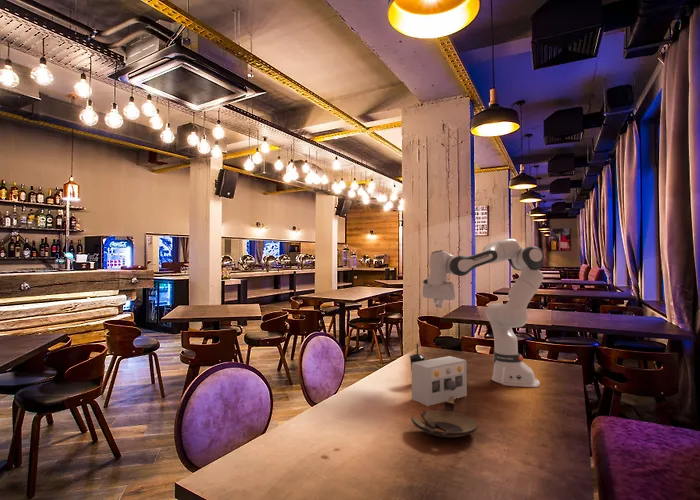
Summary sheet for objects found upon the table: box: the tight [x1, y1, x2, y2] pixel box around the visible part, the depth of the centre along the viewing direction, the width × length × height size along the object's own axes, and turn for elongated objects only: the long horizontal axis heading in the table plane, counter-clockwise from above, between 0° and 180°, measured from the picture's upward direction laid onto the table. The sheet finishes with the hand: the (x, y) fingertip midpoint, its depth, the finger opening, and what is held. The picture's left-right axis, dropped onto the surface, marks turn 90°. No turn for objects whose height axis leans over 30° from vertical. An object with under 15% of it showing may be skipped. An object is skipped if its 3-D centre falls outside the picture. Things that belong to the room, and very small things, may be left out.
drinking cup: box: [409, 343, 426, 372], centre depth 193 cm, size 8×8×20 cm
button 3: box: [432, 381, 440, 392], centre depth 167 cm, size 3×4×4 cm
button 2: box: [445, 379, 456, 391], centre depth 168 cm, size 3×4×4 cm
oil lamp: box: [410, 396, 478, 439], centre depth 139 cm, size 22×30×8 cm
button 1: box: [455, 376, 462, 386], centre depth 175 cm, size 3×4×4 cm
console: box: [411, 355, 468, 407], centre depth 174 cm, size 11×24×16 cm, turn 122°
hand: (438, 307), depth 203 cm, fingers closed
